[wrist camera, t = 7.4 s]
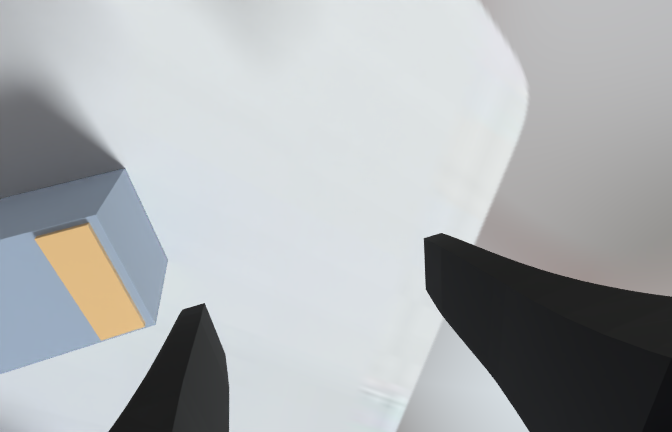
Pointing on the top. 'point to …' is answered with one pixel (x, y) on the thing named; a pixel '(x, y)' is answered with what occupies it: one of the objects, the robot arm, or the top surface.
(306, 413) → the top surface
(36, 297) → the module block
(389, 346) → the top surface
